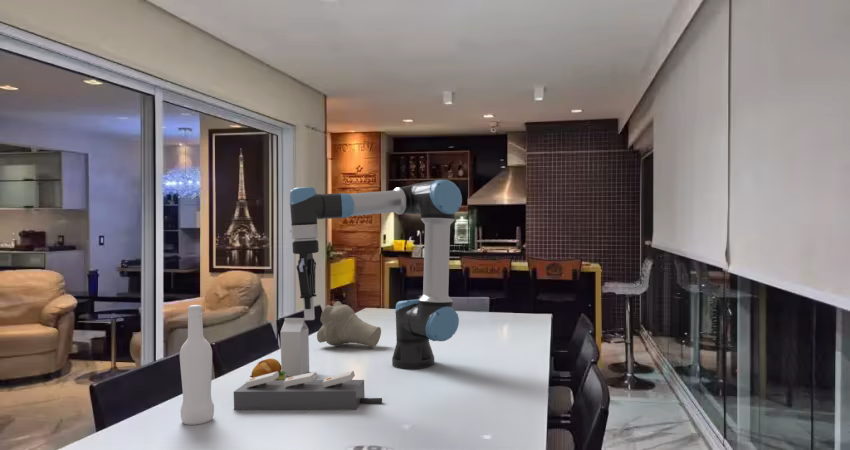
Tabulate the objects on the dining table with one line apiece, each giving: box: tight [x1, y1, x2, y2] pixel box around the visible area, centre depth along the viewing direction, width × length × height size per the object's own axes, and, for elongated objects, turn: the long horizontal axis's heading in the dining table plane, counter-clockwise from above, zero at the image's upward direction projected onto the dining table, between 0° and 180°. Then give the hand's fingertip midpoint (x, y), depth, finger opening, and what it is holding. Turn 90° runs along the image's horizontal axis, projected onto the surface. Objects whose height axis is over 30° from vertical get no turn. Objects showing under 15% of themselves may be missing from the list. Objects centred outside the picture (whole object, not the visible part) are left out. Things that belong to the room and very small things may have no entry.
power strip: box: [233, 379, 383, 411], centre depth 167 cm, size 40×12×6 cm, turn 85°
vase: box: [316, 300, 382, 349], centre depth 245 cm, size 22×22×28 cm
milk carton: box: [280, 317, 310, 377], centre depth 202 cm, size 7×7×19 cm
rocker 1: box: [244, 371, 279, 388], centre depth 168 cm, size 8×5×2 cm, turn 85°
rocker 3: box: [322, 370, 356, 387], centre depth 166 cm, size 8×5×2 cm, turn 85°
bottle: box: [179, 304, 215, 426], centre depth 154 cm, size 8×8×30 cm
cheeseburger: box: [249, 358, 287, 380], centre depth 185 cm, size 10×11×10 cm
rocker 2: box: [284, 371, 318, 387], centre depth 167 cm, size 8×5×2 cm, turn 85°
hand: (309, 319), depth 175 cm, fingers closed
